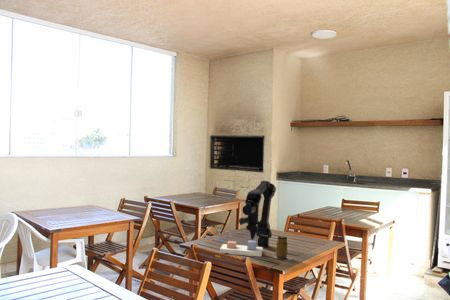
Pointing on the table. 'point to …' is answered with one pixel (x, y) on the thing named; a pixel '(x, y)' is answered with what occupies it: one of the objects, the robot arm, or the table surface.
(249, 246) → the slate key
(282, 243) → the condiment
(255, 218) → the robot arm
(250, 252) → the key panel
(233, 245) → the terracotta key
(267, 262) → the table surface
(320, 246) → the table surface
